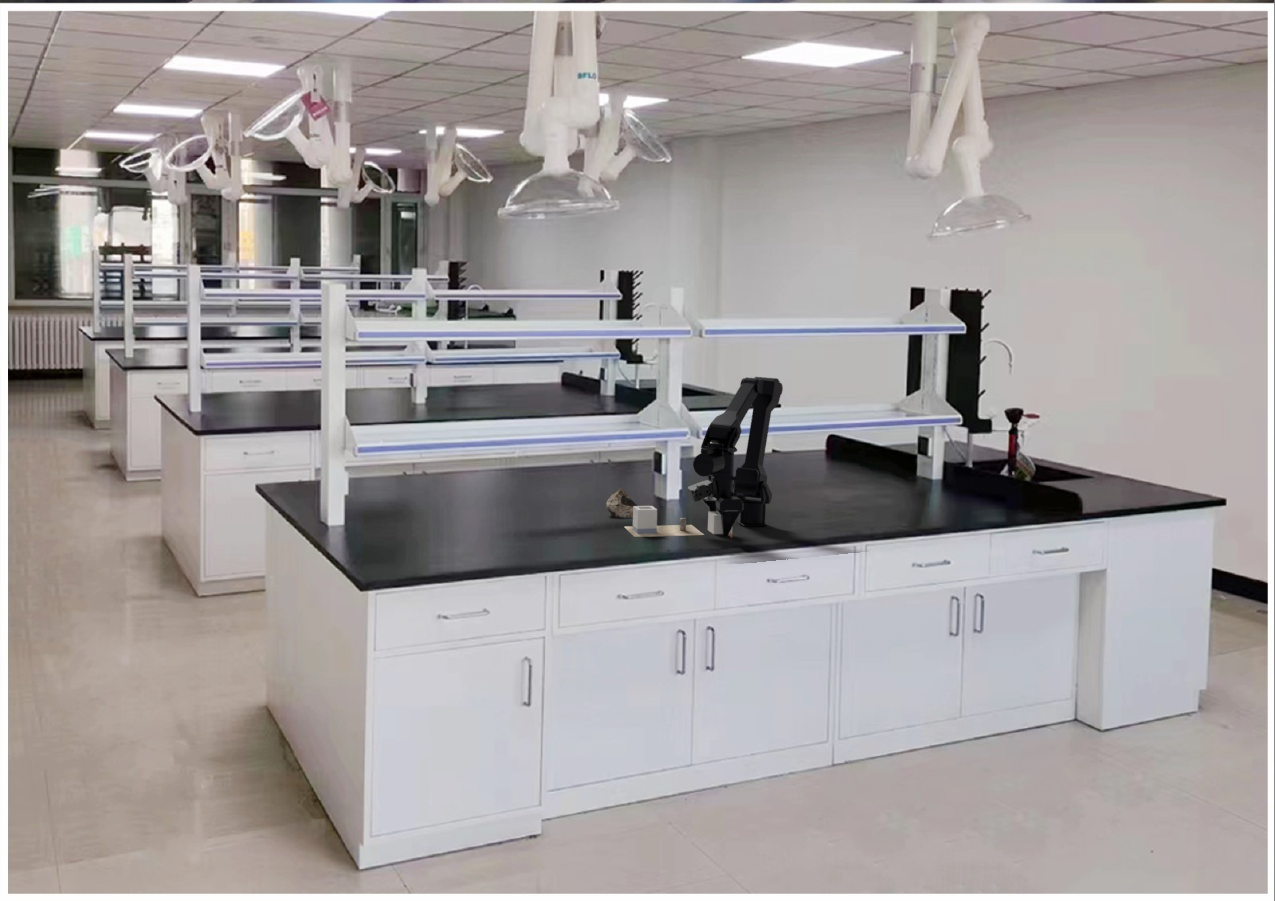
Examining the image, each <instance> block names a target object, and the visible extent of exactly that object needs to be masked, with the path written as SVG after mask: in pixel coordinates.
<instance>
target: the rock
mask: <svg viewBox="0 0 1275 901" xmlns="http://www.w3.org/2000/svg"><path fill="white" fill-rule="evenodd" d="M605 504H606V510H607V511H608V512H609V513H610V516H611V517H618V518H624V519H627V518H633V506H639V505H638V504H637V503H636V502H635V501H634V500H632V498H631V497H630V496H629V495H628V494H627V493H626V491H625V490H624V489H617V491H616V492H615V493H612V494H611V495H610V497H609V498H608V499H607V501H606V503H605Z"/></svg>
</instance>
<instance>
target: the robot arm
mask: <svg viewBox="0 0 1275 901" xmlns="http://www.w3.org/2000/svg"><path fill="white" fill-rule="evenodd" d="M783 386H784V385H783V383H782V382H781V381H780V379H779V378H775V377H763V376H755V377H743V378H742V379H741V381H740V385H739V387H738V389H737V391H736V392H735V394H734V396H733V398H732V399H731V401H730V403H729V404H728V406H727V407H726V409H725V411H723V413H721V414H719V415H717V416H715V417H714V419H713V420H712V421H711V422H710V424H708V427H707V430H706V432H705V435H704V438H703V441H702V444H701V446H700V453H699V454H697V455H696V456H695V458H694V459H693V461H692V467H693V470H694V471H695V473H696V474H697V475H698V476H700V477H706V479H705V480H702V481H700V482H697V483H695V484H691V485H688V487H687V492H688V494H689V496H690V500H692V501H693V502H694V503H695V502H700V501H702V502H703V503H704V504H705V505H706V506H707V509H708V511H717V512H718V513H719V514H720V515H721V521H722V530H723V534H722V535H723V536H724V537H725V536H726V537H727V536H729V535H728V534H729V532H730V530H731V528H732V526H734V524H735V522H737V523H738V524H740V525H742V526H743V527H762V526H763V527H767V526H768V523H766V513H767V512H766V508H767V507H766V506H767V505H769V504H771V502H772V497H773V493H772V490H771V489H770V487H769V485H768V483H767V482H768V474H767V472H766V470H765V468H764V461H765V460H764V459H765V454H766V447H767V442H768V441H767V440H768V434H769V430H770V429H769V427H770V422H771V421H770V420H771V416H772V412H773V410H775V408H776V407H777V406H778V405H779V403H780V399H781V395H782V394H783V391H784V390H783V389H784V387H783ZM751 407H752V415H751V420H750V426H749V427H750V428H749V433H748V440H747V444H746V445H747V446H746V452H745V459H744V463H743V464H742V465H741V466H740V467H737V468H736V470H734V466H735V465H734V464H735V463H734V462H735V453H736V452H738V448H737V447H736V445H737V443H738V442H739V439H740V438H741V434H742V427H741V424H742V422H743V420H744V419H745V417H746V415H747V413H748V412H749V410H750V408H751ZM734 471H735V475H734ZM736 520H737V521H736Z"/></svg>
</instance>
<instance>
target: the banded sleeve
mask: <svg viewBox="0 0 1275 901" xmlns="http://www.w3.org/2000/svg"><path fill="white" fill-rule="evenodd" d="M707 513H708V514H707V516H708V517H707V531H708V532H710V533H711V534H712V535H723V530H722V521H721V515H720V514H719V513H718V512H717V511H709V510H708V512H707ZM733 526H734V525H733ZM733 526H732V528H731V530H730V532H729V534H728V536H729V537H730V538H733Z"/></svg>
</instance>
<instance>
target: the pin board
mask: <svg viewBox="0 0 1275 901" xmlns="http://www.w3.org/2000/svg"><path fill="white" fill-rule="evenodd" d="M624 528H625V530H627V532H628V533H630V534H631V535H632V536H633V537H634V538H644V537H645V538H646V537H647V538H648V537H650V538H651V537H654V538H655V537H681V536H682V537H683V536H685V537H687V536H705V534H704V533H703V532H701V531H700V530H699V529H698V528H696V527H695V526H694V525H692V524H687V518H686V517H680V518H679V524H672V525H669V524H667V525H657V533H642V534H637V533H636V532H635V531H634V530H633V525H631V526H624Z"/></svg>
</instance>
